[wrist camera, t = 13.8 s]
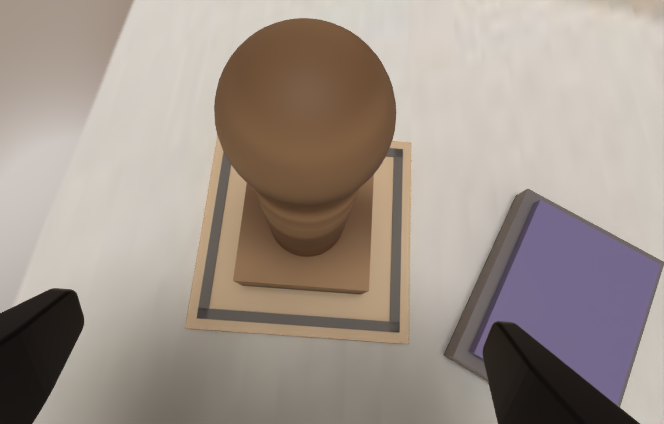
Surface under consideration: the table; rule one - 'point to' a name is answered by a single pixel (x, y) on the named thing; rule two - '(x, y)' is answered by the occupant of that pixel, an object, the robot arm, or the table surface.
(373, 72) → the stamp
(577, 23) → the table surface
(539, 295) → the ink pad
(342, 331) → the beige square tile
